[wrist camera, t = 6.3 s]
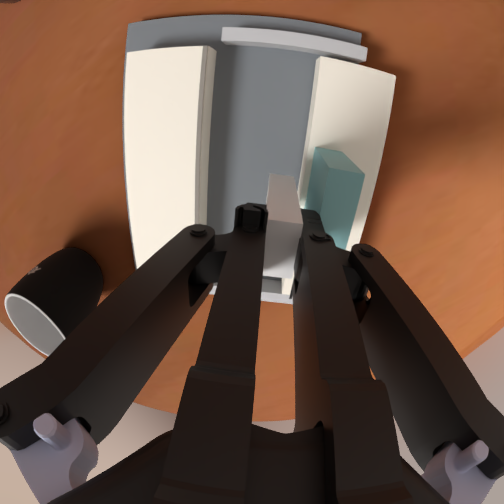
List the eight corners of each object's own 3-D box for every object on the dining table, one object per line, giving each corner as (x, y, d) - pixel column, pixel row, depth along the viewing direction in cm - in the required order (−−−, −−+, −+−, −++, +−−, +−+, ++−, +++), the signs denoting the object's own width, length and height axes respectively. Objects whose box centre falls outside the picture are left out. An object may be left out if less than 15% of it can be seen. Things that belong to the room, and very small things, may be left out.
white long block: (316, 59, 15) (338, 41, 9) (384, 76, 15) (436, 74, 9) (281, 278, 25) (281, 342, 19) (336, 284, 25) (349, 347, 19)
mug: (69, 221, 25) (10, 277, 17) (126, 278, 28) (83, 348, 20) (40, 273, 30) (-2, 323, 21) (86, 317, 33) (52, 373, 25)
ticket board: (135, 26, 15) (112, 18, 12) (357, 36, 15) (372, 26, 12) (142, 274, 28) (128, 297, 25) (307, 296, 28) (309, 323, 24)
